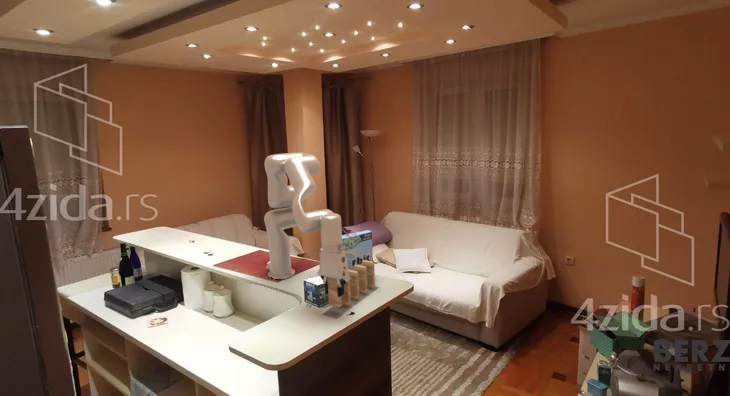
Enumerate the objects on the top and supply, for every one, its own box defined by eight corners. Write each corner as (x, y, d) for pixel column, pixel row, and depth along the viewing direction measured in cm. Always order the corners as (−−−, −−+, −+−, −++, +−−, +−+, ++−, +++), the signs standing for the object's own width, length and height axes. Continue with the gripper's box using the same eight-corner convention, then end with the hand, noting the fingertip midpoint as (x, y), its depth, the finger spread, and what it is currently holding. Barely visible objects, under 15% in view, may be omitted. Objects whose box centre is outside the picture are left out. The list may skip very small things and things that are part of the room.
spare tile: (331, 302, 152) (329, 272, 150) (341, 305, 149) (340, 275, 147) (328, 304, 151) (326, 274, 148) (339, 307, 148) (337, 276, 146)
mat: (336, 319, 146) (336, 318, 146) (321, 315, 149) (321, 314, 149) (379, 288, 171) (379, 287, 171) (365, 284, 175) (365, 283, 175)
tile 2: (348, 307, 154) (347, 278, 151) (338, 304, 156) (336, 275, 154) (351, 305, 155) (349, 276, 153) (340, 303, 158) (339, 274, 155)
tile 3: (357, 301, 159) (356, 272, 156) (346, 298, 161) (345, 270, 159) (359, 299, 160) (358, 271, 158) (349, 297, 163) (348, 269, 160)
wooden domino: (373, 289, 169) (372, 263, 166) (363, 287, 171) (362, 261, 169) (374, 288, 170) (374, 261, 167) (365, 286, 173) (364, 259, 170)
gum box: (368, 277, 184) (366, 229, 179) (374, 280, 179) (372, 231, 175) (330, 288, 173) (328, 237, 168) (336, 292, 169) (334, 240, 164)
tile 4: (365, 295, 164) (364, 267, 161) (355, 292, 166) (354, 265, 164) (367, 294, 165) (366, 266, 163) (357, 291, 168) (356, 264, 165)
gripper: (357, 247, 144) (359, 294, 148) (320, 241, 153) (323, 286, 157) (345, 254, 138) (347, 303, 142) (307, 247, 147) (310, 293, 151)
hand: (334, 293), depth 149 cm, fingers closed on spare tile, 4 cm apart
